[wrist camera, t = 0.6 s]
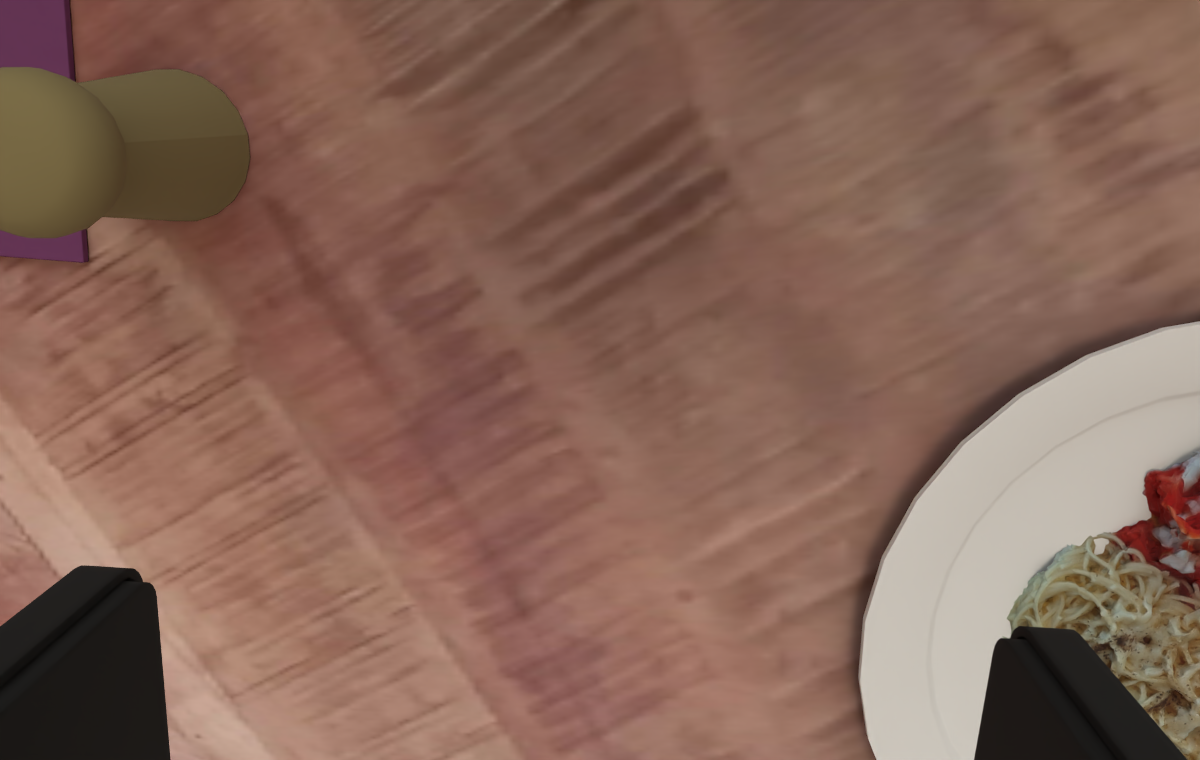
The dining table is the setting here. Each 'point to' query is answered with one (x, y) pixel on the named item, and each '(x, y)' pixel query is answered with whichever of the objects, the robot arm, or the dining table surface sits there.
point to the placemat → (44, 40)
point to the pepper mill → (115, 150)
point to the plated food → (1049, 550)
